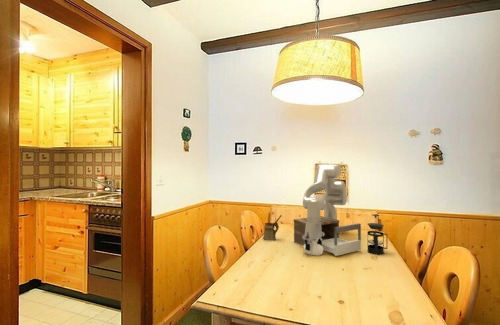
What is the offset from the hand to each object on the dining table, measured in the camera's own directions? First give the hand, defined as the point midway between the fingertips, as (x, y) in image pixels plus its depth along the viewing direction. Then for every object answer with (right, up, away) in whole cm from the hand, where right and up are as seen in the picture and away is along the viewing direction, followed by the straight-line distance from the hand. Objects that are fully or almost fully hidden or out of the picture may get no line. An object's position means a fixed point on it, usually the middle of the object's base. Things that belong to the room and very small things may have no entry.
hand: (313, 248), depth 159 cm
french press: (+39, -3, +2) cm, 39 cm away
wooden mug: (-22, -3, +30) cm, 37 cm away
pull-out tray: (+16, -2, +6) cm, 17 cm away
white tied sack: (0, -3, 0) cm, 3 cm away
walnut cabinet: (+7, -3, +22) cm, 23 cm away
